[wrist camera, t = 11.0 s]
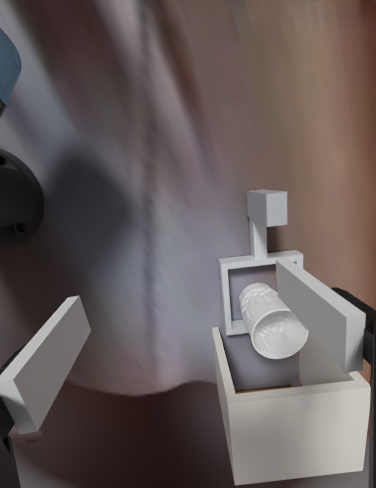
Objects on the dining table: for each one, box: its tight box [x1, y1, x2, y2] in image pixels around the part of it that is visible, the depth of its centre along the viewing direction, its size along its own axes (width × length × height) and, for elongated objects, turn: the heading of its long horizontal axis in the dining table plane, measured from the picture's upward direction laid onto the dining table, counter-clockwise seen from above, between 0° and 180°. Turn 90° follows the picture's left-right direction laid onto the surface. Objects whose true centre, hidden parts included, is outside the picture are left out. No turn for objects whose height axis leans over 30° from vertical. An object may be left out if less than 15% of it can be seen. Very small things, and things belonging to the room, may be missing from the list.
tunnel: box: [212, 327, 371, 485], centre depth 37 cm, size 14×17×15 cm
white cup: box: [239, 283, 309, 359], centre depth 37 cm, size 8×8×10 cm
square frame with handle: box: [218, 190, 303, 335], centre depth 35 cm, size 24×13×9 cm, turn 6°
